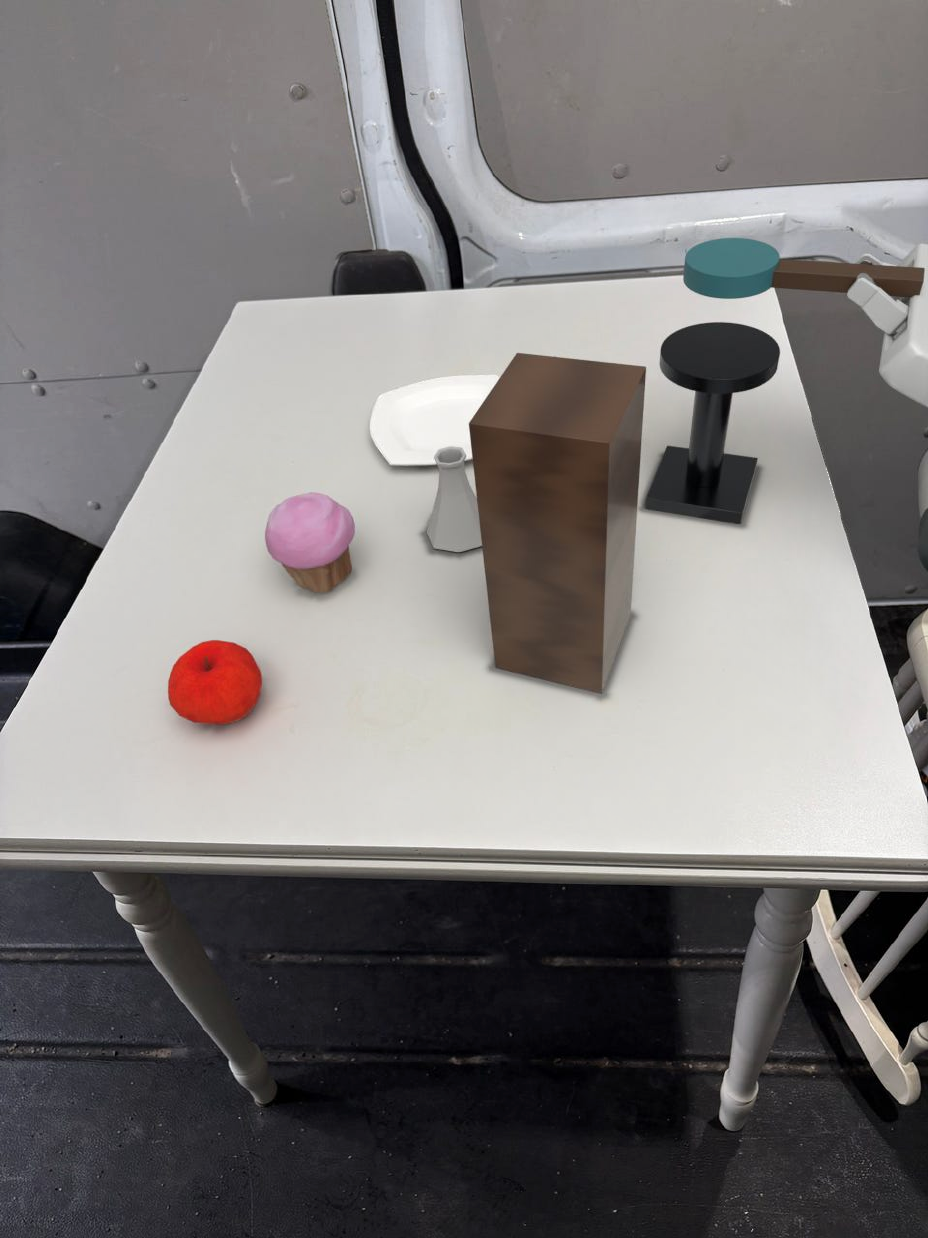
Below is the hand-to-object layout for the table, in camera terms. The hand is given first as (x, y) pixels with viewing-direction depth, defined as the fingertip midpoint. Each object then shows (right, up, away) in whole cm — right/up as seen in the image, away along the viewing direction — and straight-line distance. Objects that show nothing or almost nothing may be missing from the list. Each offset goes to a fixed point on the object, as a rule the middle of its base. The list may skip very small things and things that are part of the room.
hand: (855, 272), depth 71 cm
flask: (-34, -20, +20) cm, 44 cm away
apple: (-55, -38, +5) cm, 67 cm away
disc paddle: (-4, 0, +2) cm, 5 cm away
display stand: (-7, -15, +21) cm, 27 cm away
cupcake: (-48, -25, +17) cm, 57 cm away
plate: (-35, -6, +34) cm, 49 cm away
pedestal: (-24, -31, +7) cm, 40 cm away
